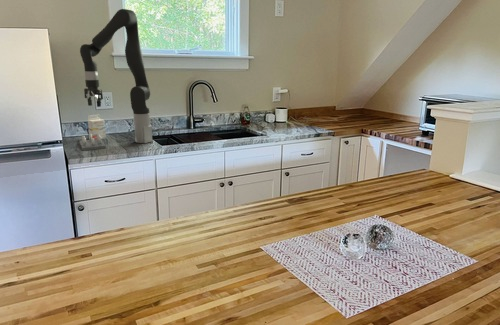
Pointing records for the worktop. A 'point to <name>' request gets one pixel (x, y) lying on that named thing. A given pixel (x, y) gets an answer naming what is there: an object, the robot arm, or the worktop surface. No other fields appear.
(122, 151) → the worktop surface
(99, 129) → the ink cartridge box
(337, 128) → the worktop surface
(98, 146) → the pin tray
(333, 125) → the worktop surface
